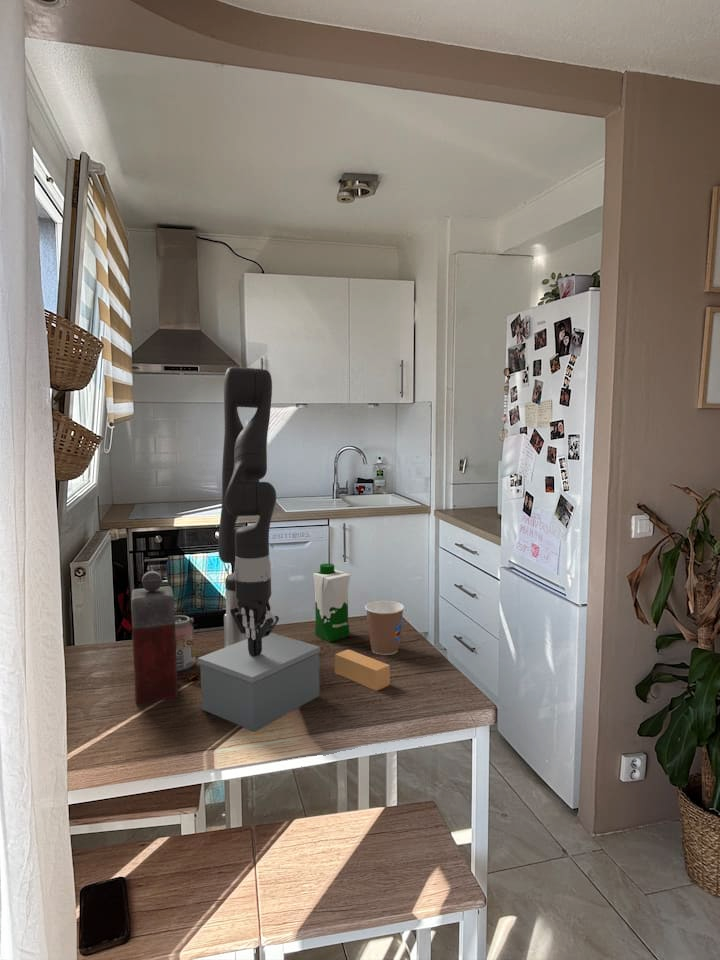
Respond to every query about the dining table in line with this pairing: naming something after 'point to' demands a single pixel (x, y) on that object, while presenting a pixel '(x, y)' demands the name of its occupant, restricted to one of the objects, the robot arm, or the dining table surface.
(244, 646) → the lid
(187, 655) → the beverage can
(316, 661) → the box
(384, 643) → the coffee cup
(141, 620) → the decanter
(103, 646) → the dining table surface
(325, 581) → the milk carton
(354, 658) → the light orange bar
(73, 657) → the dining table surface
